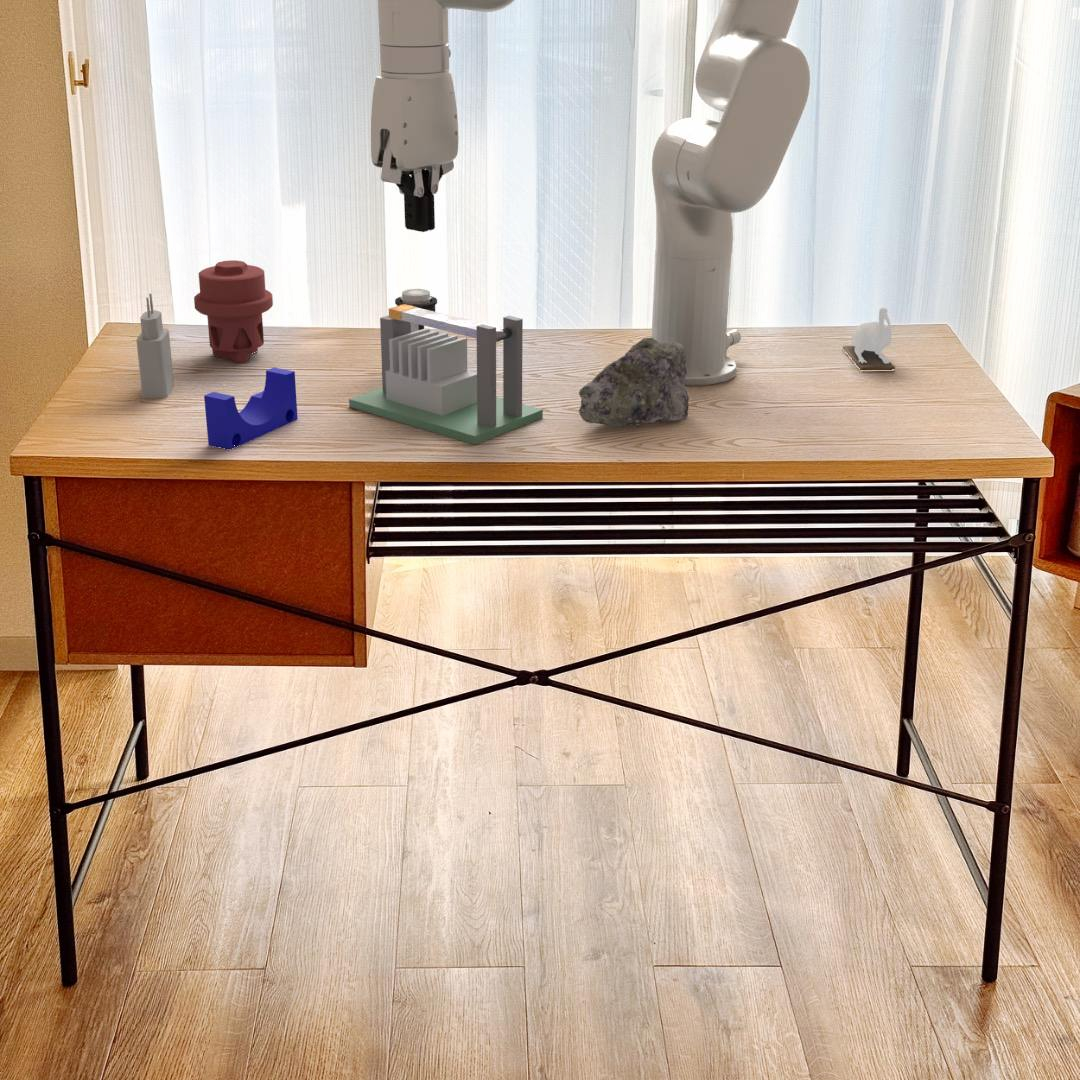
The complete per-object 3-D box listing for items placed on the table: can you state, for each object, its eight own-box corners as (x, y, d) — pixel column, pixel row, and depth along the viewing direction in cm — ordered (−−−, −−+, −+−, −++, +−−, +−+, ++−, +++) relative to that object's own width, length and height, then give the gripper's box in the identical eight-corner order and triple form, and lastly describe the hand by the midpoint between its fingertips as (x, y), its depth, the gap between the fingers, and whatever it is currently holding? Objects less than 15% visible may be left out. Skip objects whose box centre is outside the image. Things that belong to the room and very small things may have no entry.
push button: (432, 378, 185) (430, 301, 181) (391, 376, 186) (388, 299, 182) (441, 363, 191) (440, 287, 187) (401, 361, 192) (399, 286, 188)
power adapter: (141, 398, 177) (130, 301, 172) (149, 384, 182) (140, 289, 177) (167, 398, 177) (157, 301, 172) (175, 384, 182) (166, 289, 177)
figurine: (904, 383, 186) (910, 316, 183) (869, 384, 186) (875, 317, 182) (874, 350, 199) (880, 288, 195) (841, 351, 199) (847, 288, 195)
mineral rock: (577, 435, 167) (579, 350, 163) (579, 404, 177) (581, 323, 173) (691, 437, 167) (695, 352, 162) (686, 407, 176) (690, 326, 172)
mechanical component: (183, 358, 192) (239, 341, 200) (236, 372, 187) (292, 354, 194) (174, 265, 187) (232, 251, 195) (229, 277, 182) (286, 262, 189)
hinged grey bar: (404, 313, 174) (404, 303, 174) (511, 338, 165) (511, 328, 164) (388, 318, 172) (388, 308, 172) (495, 344, 163) (495, 333, 162)
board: (418, 383, 183) (415, 285, 178) (542, 417, 172) (543, 313, 167) (349, 406, 175) (344, 304, 170) (475, 444, 163) (474, 336, 158)
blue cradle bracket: (267, 414, 173) (263, 365, 170) (297, 420, 171) (294, 371, 168) (198, 444, 163) (193, 393, 161) (229, 451, 161) (225, 400, 159)
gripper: (435, 53, 167) (439, 214, 175) (341, 65, 157) (349, 236, 164) (485, 58, 163) (487, 223, 170) (391, 70, 152) (398, 245, 160)
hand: (420, 228), depth 167 cm, fingers closed
